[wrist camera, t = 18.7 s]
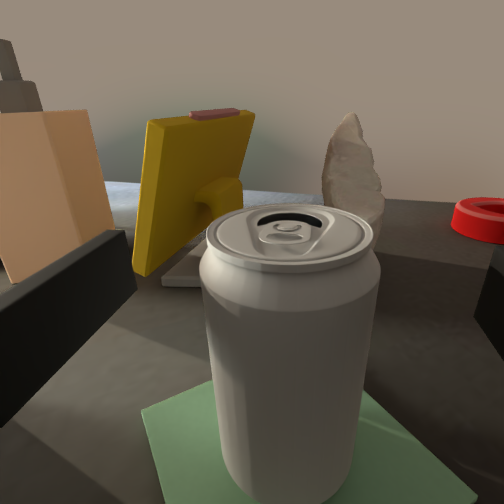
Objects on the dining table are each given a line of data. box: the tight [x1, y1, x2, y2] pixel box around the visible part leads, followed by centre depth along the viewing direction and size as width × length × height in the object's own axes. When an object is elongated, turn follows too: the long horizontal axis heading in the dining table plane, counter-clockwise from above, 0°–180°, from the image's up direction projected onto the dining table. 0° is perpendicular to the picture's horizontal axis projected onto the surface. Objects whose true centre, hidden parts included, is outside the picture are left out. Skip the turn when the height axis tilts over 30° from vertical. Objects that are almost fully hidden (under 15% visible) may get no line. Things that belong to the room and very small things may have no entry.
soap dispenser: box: [0, 39, 115, 283], centre depth 33 cm, size 13×9×22 cm
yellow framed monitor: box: [132, 108, 255, 287], centre depth 33 cm, size 20×8×16 cm, turn 162°
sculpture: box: [322, 112, 385, 250], centre depth 29 cm, size 17×5×15 cm, turn 175°
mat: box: [141, 380, 478, 504], centre depth 16 cm, size 12×12×1 cm
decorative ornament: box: [451, 197, 504, 245], centre depth 41 cm, size 10×10×3 cm
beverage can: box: [199, 203, 381, 504], centre depth 14 cm, size 6×6×12 cm
